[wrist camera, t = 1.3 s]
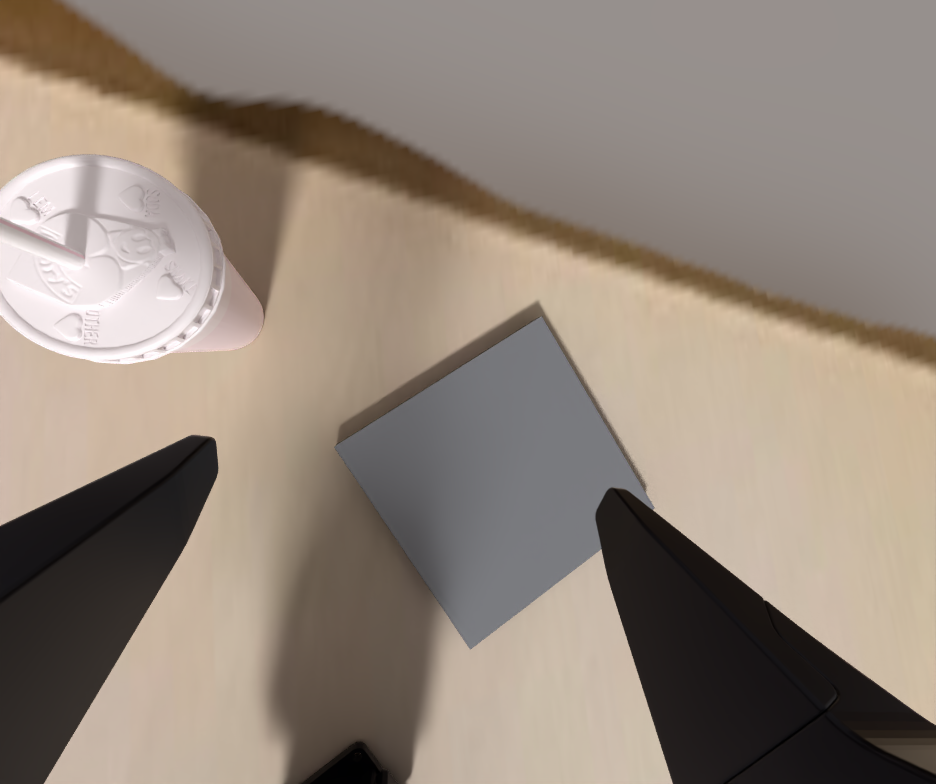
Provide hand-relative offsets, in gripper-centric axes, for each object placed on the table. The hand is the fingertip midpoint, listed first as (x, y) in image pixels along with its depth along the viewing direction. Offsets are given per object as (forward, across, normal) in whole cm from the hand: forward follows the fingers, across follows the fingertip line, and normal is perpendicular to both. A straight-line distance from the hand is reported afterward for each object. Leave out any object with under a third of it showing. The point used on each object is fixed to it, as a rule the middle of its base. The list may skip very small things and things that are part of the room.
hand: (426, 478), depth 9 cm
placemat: (+11, -6, +9) cm, 16 cm away
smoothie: (+15, +10, +4) cm, 18 cm away
